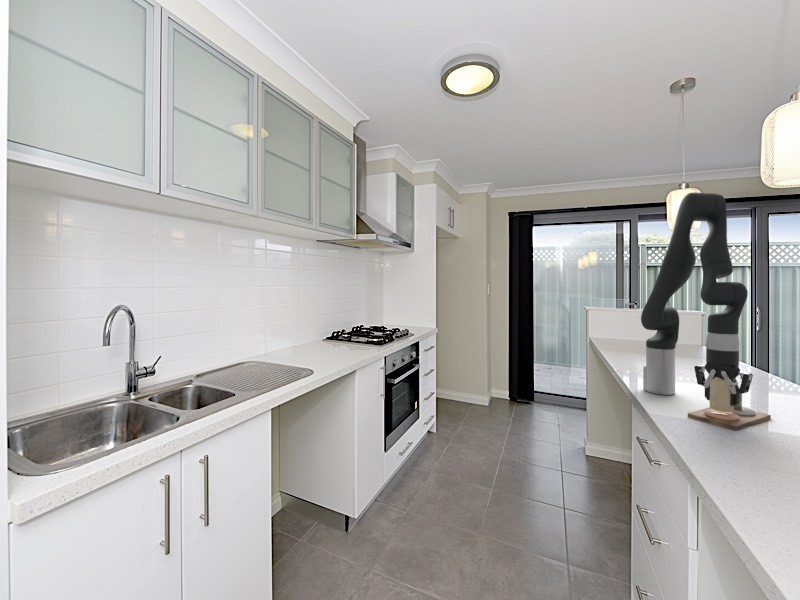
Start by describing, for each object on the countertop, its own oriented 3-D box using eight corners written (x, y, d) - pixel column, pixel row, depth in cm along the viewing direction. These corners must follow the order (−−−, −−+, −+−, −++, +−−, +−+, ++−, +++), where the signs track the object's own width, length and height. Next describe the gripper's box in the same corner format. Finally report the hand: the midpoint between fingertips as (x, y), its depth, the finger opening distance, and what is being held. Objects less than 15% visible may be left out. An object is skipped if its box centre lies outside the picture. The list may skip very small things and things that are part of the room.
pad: (698, 414, 113) (698, 411, 113) (713, 410, 117) (713, 407, 116) (730, 422, 106) (730, 420, 106) (745, 418, 109) (745, 415, 109)
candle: (716, 411, 109) (717, 378, 109) (705, 405, 114) (705, 374, 114) (738, 412, 108) (738, 379, 108) (725, 406, 113) (726, 374, 113)
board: (687, 416, 114) (687, 391, 114) (723, 407, 122) (723, 383, 122) (735, 430, 103) (735, 402, 103) (770, 418, 111) (771, 393, 111)
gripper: (759, 350, 105) (758, 407, 106) (702, 343, 119) (701, 394, 119) (746, 352, 102) (744, 412, 103) (688, 345, 116) (687, 398, 116)
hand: (721, 402), depth 111 cm, fingers closed on candle, 5 cm apart
